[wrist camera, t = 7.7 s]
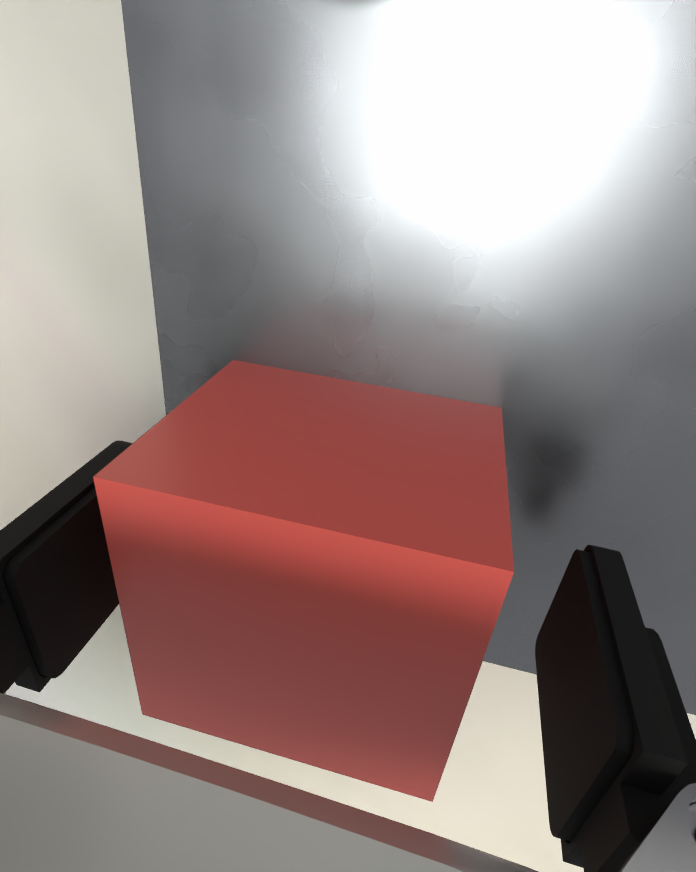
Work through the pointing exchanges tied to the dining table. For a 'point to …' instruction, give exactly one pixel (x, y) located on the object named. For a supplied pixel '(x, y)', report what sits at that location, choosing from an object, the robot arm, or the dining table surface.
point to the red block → (313, 567)
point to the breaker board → (451, 244)
